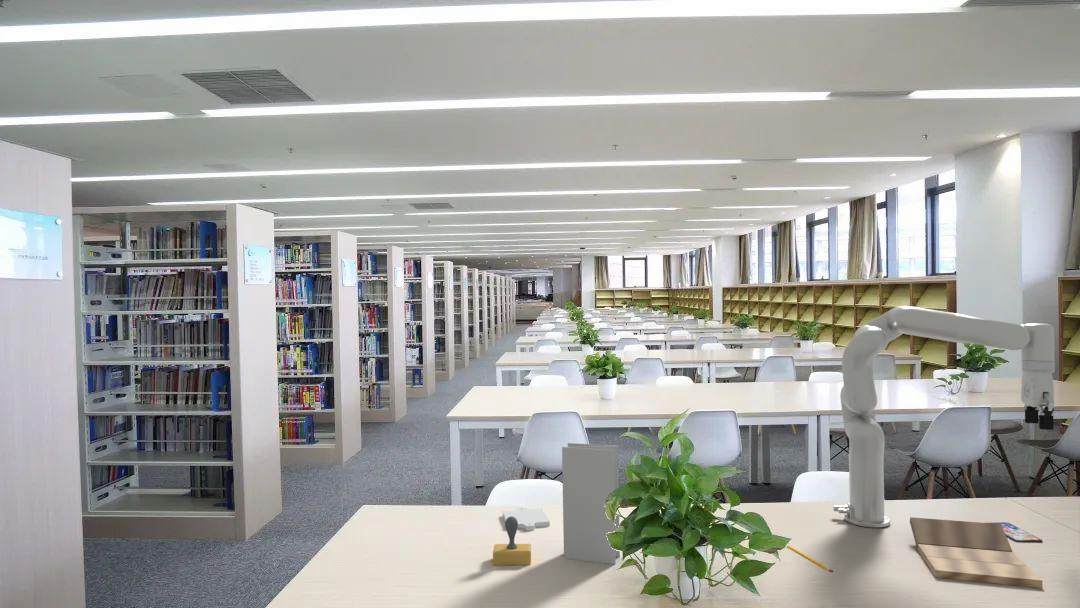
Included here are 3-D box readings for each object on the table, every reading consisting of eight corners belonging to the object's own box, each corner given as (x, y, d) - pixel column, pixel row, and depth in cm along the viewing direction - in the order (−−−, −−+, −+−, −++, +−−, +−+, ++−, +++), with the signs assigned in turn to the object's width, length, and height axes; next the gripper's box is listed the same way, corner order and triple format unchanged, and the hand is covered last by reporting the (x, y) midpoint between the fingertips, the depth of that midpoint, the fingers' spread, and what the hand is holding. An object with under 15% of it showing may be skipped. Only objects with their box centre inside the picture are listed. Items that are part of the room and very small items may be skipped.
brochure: (620, 556, 176) (618, 445, 175) (615, 564, 170) (613, 450, 170) (569, 550, 180) (567, 442, 180) (563, 558, 175) (562, 447, 175)
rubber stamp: (492, 566, 171) (492, 520, 171) (494, 557, 177) (494, 513, 177) (530, 565, 171) (529, 520, 171) (531, 556, 177) (530, 512, 177)
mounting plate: (501, 514, 213) (501, 509, 213) (540, 511, 215) (540, 506, 215) (509, 534, 195) (509, 527, 195) (551, 530, 198) (551, 524, 198)
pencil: (830, 573, 163) (830, 570, 163) (783, 546, 182) (782, 543, 182) (833, 572, 163) (833, 570, 163) (785, 545, 182) (785, 543, 182)
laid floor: (935, 577, 159) (935, 570, 159) (917, 550, 176) (917, 544, 176) (1042, 588, 152) (1042, 580, 152) (1013, 559, 169) (1012, 552, 169)
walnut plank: (916, 547, 177) (917, 542, 176) (909, 521, 185) (910, 517, 184) (1011, 555, 170) (1012, 551, 170) (1000, 528, 178) (1001, 524, 177)
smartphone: (1015, 540, 181) (982, 522, 196) (1015, 544, 181) (982, 525, 196) (1043, 540, 180) (1008, 522, 195) (1043, 543, 180) (1008, 525, 195)
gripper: (1010, 363, 195) (1011, 420, 195) (1035, 369, 179) (1036, 431, 179) (1040, 363, 193) (1041, 421, 193) (1067, 369, 176) (1068, 432, 176)
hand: (1038, 426), depth 186 cm, fingers open, 9 cm apart
